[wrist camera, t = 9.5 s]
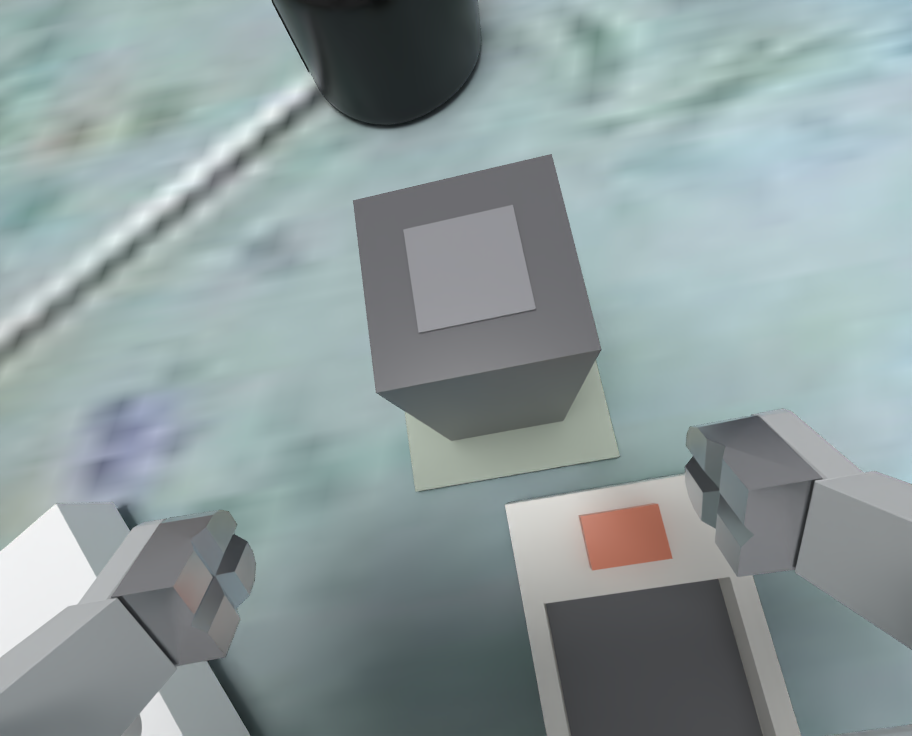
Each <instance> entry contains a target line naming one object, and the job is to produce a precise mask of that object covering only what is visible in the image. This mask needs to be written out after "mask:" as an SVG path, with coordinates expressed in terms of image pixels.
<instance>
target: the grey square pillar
mask: <svg viewBox="0 0 912 736" xmlns="http://www.w3.org/2000/svg"><path fill="white" fill-rule="evenodd" d="M353 204H354V212H355V221H356V229H357V237H358V246H359V254H360V263H361V271H362V279H363V288H364V296H365V305H366V313H367V321H368V330H369V338H370V346H371V355H372V363H373V372H374V380H375V388H376V393H377V394H379V395H380V396H382V397H383V398H385V399H386V400H388V401H390V402H391V403H393V404H394V405H396V406H397V407H399V408H400V409H402V410H404V411H405V412H407V413H408V414H410V415H411V416H413V417H415V418H416V419H418V420H419V421H421V422H422V423H424V424H425V425H427V426H429V427H430V428H432V429H433V430H435V431H436V432H438V433H439V434H441V435H443V436H444V437H446V438H447V439H449V440H450V441H454V440H460V439H466V438H471V437H477V436H482V435H488V434H493V433H499V432H505V431H510V430H516V429H521V428H527V427H532V426H538V425H543V424H549V423H555V422H560V421H564V419H565V417H566V415H567V413H568V411H569V409H570V407H571V405H572V404H573V402H574V400H575V398H576V396H577V394H578V392H579V390H580V389H581V387H582V385H583V383H584V381H585V379H586V377H587V375H588V373H589V372H590V370H591V368H592V366H593V364H594V362H595V360H596V358H597V357H598V355H599V353H600V351H601V346H600V342H599V338H598V335H597V331H596V327H595V323H594V319H593V315H592V311H591V307H590V303H589V299H588V295H587V291H586V287H585V283H584V279H583V276H582V272H581V268H580V264H579V260H578V256H577V252H576V248H575V244H574V240H573V236H572V232H571V228H570V224H569V220H568V217H567V213H566V209H565V205H564V201H563V197H562V193H561V189H560V185H559V181H558V177H557V173H556V169H555V165H554V162H553V158H552V154H550V155H546V156H541V157H537V158H533V159H529V160H524V161H520V162H516V163H511V164H507V165H503V166H499V167H494V168H490V169H486V170H482V171H477V172H473V173H469V174H464V175H460V176H456V177H452V178H447V179H443V180H439V181H435V182H430V183H426V184H422V185H417V186H413V187H409V188H405V189H400V190H396V191H392V192H388V193H383V194H379V195H375V196H370V197H366V198H362V199H358V200H353Z"/></svg>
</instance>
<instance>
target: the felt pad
mask: <svg viewBox="0 0 912 736" xmlns="http://www.w3.org/2000/svg"><path fill="white" fill-rule="evenodd" d="M405 418H406V425H407V432H408V440H409V447H410V455H411V462H412V470H413V477H414V484H415V491H424V490H430V489H436V488H441V487H447V486H453V485H459V484H465V483H471V482H476V481H482V480H488V479H494V478H500V477H506V476H512V475H517V474H523V473H529V472H535V471H541V470H547V469H552V468H558V467H564V466H570V465H576V464H582V463H588V462H593V461H599V460H605V459H611V458H617V457H620V455H619V451H618V447H617V443H616V439H615V435H614V431H613V427H612V423H611V419H610V415H609V411H608V407H607V403H606V399H605V395H604V391H603V387H602V383H601V379H600V375H599V371H598V367H597V363H596V360H595V362H594V364H593V366H592V368H591V370H590V372H589V373H588V375H587V377H586V379H585V381H584V383H583V385H582V387H581V389H580V390H579V392H578V394H577V396H576V398H575V400H574V402H573V404H572V405H571V407H570V409H569V411H568V413H567V415H566V417H565V419H564V421H560V422H555V423H549V424H543V425H538V426H532V427H527V428H521V429H516V430H510V431H505V432H499V433H493V434H488V435H482V436H477V437H471V438H466V439H460V440H454V441H450V440H449V439H447V438H446V437H444V436H443V435H441V434H439V433H438V432H436V431H435V430H433V429H432V428H430V427H429V426H427V425H425V424H424V423H422V422H421V421H419V420H418V419H416V418H415V417H413V416H411V415H410V414H408V413H407V412H405Z"/></svg>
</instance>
